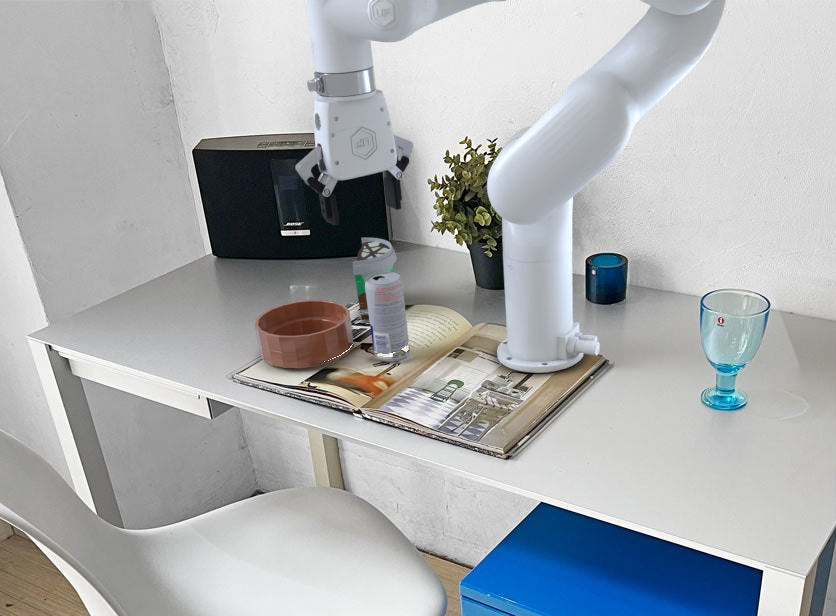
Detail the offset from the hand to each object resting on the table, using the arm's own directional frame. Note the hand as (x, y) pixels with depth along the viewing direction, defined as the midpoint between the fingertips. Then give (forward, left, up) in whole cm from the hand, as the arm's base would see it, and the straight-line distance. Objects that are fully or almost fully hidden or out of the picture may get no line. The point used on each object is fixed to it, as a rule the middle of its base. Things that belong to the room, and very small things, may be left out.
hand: (363, 215), depth 137 cm
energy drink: (-2, +1, -21) cm, 21 cm away
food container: (+9, -15, -21) cm, 27 cm away
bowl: (+11, +4, -21) cm, 23 cm away
